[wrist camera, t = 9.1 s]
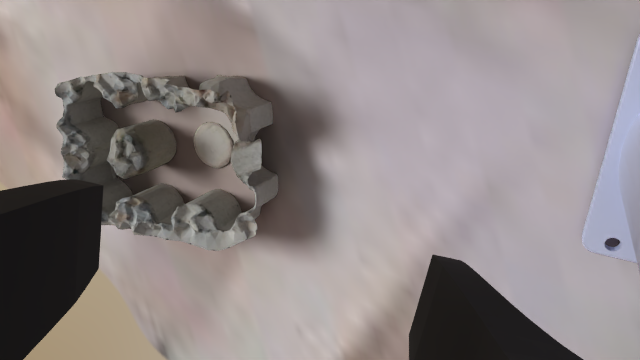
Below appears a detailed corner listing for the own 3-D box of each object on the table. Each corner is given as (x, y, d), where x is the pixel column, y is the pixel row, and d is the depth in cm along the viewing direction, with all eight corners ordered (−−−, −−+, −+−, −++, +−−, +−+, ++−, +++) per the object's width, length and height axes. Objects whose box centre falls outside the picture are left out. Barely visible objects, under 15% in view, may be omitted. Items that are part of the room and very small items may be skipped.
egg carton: (282, 73, 23) (232, 87, 20) (285, 231, 26) (240, 268, 22) (96, 61, 27) (26, 70, 24) (113, 199, 30) (52, 226, 26)
